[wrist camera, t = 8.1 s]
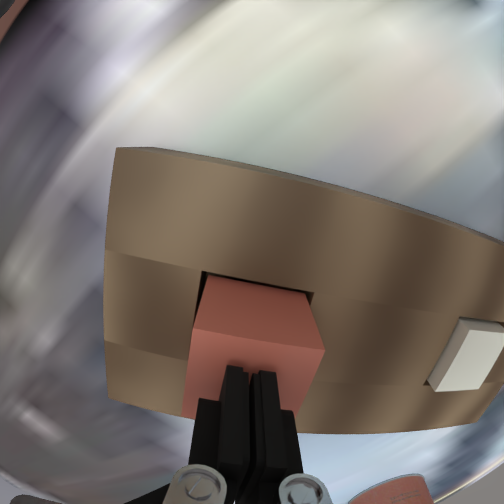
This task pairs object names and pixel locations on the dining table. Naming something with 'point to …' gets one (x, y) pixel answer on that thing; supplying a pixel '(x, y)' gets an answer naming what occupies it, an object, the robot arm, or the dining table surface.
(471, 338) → the ivory cube
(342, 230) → the block
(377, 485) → the canned food
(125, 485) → the dining table surface
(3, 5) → the bundt pan
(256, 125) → the dining table surface
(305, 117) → the dining table surface
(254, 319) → the salmon pink cube
